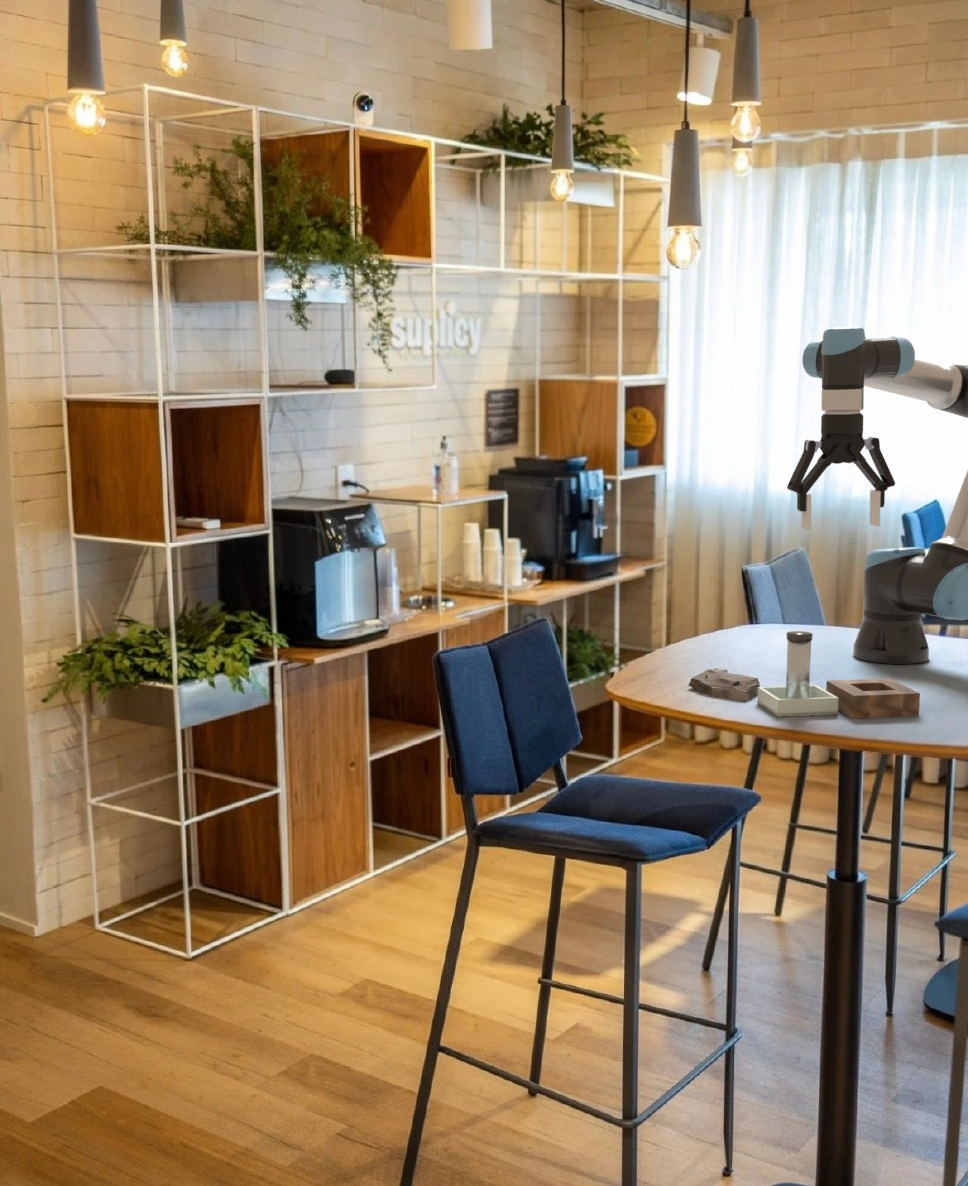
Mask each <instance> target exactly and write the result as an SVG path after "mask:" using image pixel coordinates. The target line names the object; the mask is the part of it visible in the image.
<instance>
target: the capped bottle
mask: <svg viewBox="0 0 968 1186" xmlns="http://www.w3.org/2000/svg"><path fill="white" fill-rule="evenodd" d="M786 640H787V645H786V646H787V647H786V649H787V651H786V677H785V678H786V681H785V683H786V684H785V686H786V699H797V698H809V685H810V679H811V656H812V655H811V654H812V653H811V651H812V641H813V633H812V632H809V631H801V630H791V631H787V632H786Z"/></svg>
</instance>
